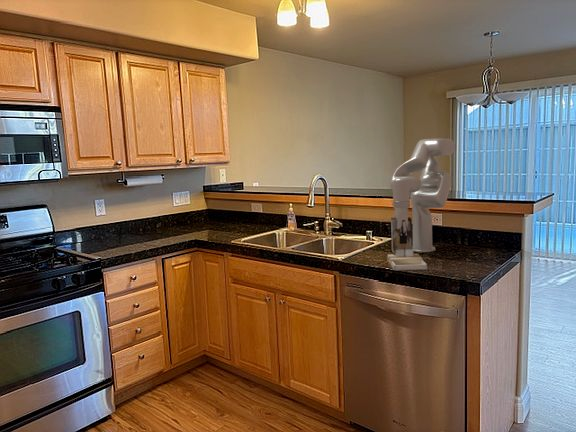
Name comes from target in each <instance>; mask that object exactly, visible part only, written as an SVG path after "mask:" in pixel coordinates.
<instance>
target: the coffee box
mask: <svg viewBox="0 0 576 432" xmlns="http://www.w3.org/2000/svg"><path fill="white" fill-rule="evenodd" d="M401 228H403V227H401ZM390 229H391V231H390V232H391V235H390V236H391V237H390V238H391V251H392V254H395V248H403V249H404V248H412V246H413V218H411V217H410V216H408V228H407V226H406V231H407V244H400V229H397V219H396V218H394V217H390Z"/></svg>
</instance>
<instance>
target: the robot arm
mask: <svg viewBox="0 0 576 432" xmlns="http://www.w3.org/2000/svg"><path fill="white" fill-rule="evenodd" d="M454 152H455V142H454V141H453V140H452V139H451V138H442V137H441V138H440V137H437V138H434V137H433V138H423V139H420V140H418V142H417V143H416V145H415V147H414V149H413V151H412V154H411V155H410V157H409V159H408V160H406V161H405V162H404V163H402V164H401V165H400V166H398V167H397V168H396V170H394V172H393V174H392V177H391V180H390V183H389V184H390V185H389V186H390V189H391V191H392V207H393V209H394V217H393V218H396V219H397V229H400V244H407V231H406V226H407V228H408V217H409V208H410V207H411V212H412V213H411V214H412V249H413V253H415V252H416V253H433V252H435V251H436V247H435V246H433V216H432V213H431V211H430V209H441V208H443V207H445V205H446V204H447V200H448V197H449V193H450V189H451V187H452V175H451V174H450V173H449V172H448V171H440V170H441V164H440V163H439V161H438V160H437V158H435V157H444V156H445V157H446V156H451V155H453V153H454ZM417 172H421V173H420V176H419V177H417V176H411V175H412V174H415V173H417ZM409 175H410V176H409ZM410 204H411V205H410ZM401 227H403V228H401Z"/></svg>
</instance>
